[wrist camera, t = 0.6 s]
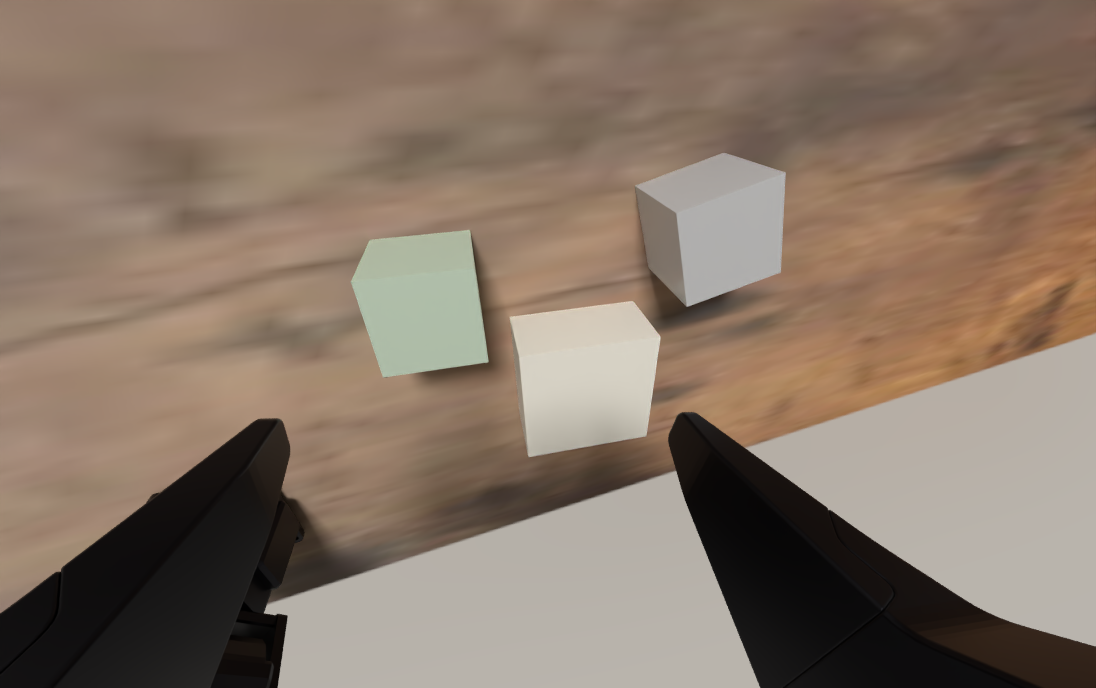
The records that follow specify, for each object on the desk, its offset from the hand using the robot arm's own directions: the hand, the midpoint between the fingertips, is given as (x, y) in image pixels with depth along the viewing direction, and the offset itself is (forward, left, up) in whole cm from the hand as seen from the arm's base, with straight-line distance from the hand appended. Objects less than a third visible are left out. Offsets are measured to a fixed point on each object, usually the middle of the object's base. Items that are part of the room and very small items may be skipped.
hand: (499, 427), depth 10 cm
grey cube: (+11, 0, -13) cm, 16 cm away
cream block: (+5, -8, -13) cm, 16 cm away
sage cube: (-2, -2, -13) cm, 13 cm away
